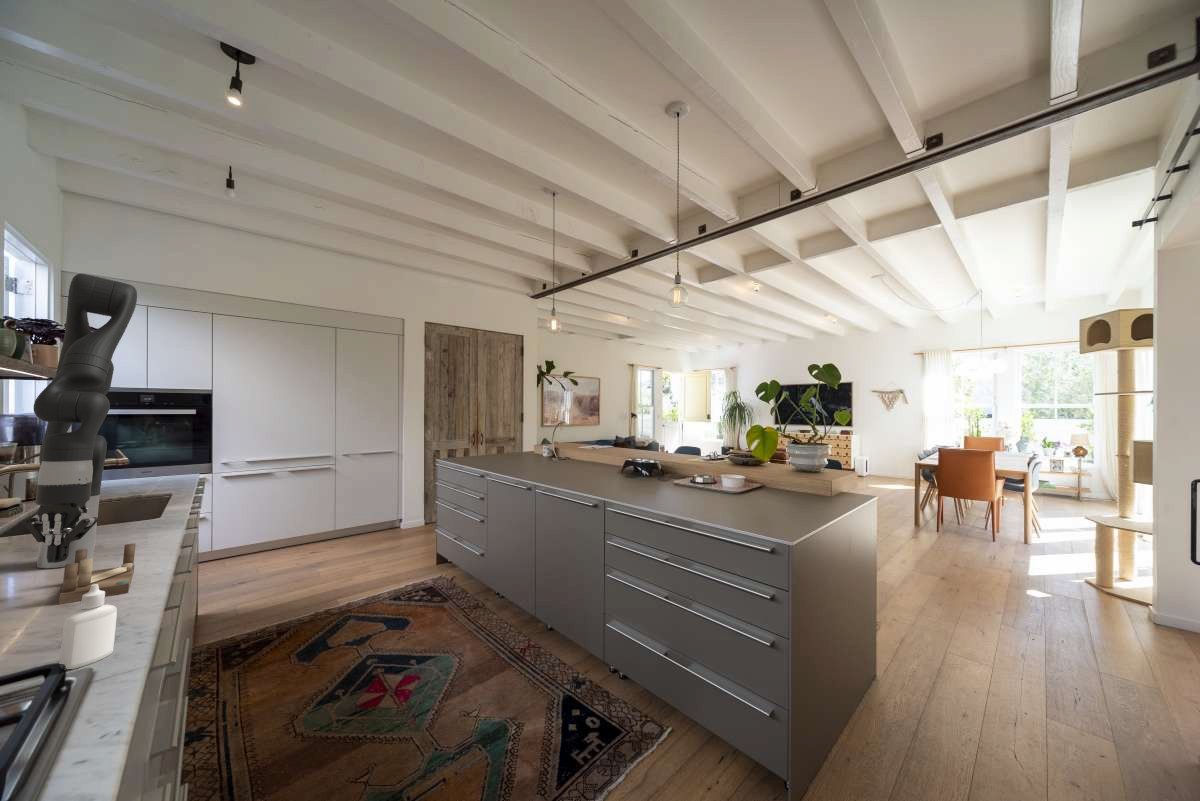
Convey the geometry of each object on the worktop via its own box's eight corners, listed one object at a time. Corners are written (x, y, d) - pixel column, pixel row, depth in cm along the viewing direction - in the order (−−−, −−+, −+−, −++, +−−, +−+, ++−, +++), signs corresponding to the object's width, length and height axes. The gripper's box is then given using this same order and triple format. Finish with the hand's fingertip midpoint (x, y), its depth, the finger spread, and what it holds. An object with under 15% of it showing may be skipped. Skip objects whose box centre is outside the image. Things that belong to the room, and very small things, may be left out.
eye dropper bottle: (113, 659, 70) (121, 583, 70) (58, 673, 65) (67, 593, 66) (112, 649, 72) (119, 577, 73) (59, 663, 68) (67, 585, 69)
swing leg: (126, 568, 103) (128, 546, 103) (134, 568, 103) (136, 546, 103) (74, 585, 92) (77, 560, 92) (83, 585, 92) (86, 561, 92)
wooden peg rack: (72, 582, 100) (76, 549, 100) (133, 573, 106) (136, 542, 107) (58, 604, 88) (62, 567, 89) (127, 592, 95) (131, 558, 95)
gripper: (10, 483, 90) (0, 567, 89) (79, 483, 91) (71, 567, 90) (52, 478, 98) (44, 556, 96) (116, 479, 99) (108, 556, 98)
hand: (57, 561), depth 93 cm, fingers closed
